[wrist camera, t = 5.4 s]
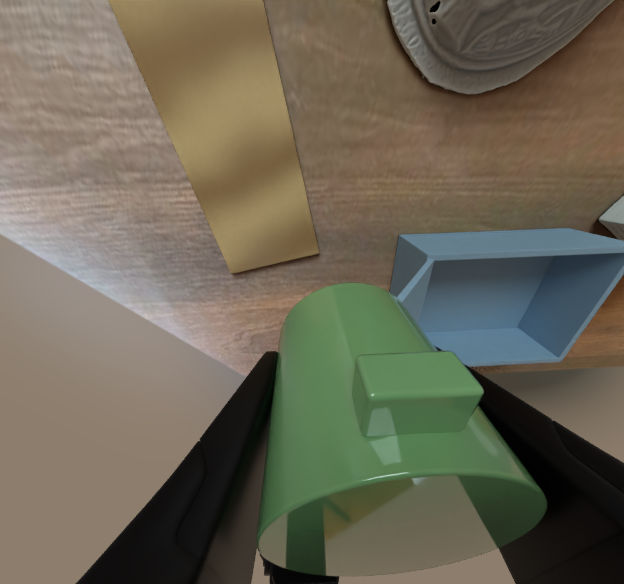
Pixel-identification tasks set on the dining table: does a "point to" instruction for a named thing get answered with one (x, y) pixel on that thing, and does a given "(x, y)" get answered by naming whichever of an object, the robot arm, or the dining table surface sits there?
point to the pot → (381, 447)
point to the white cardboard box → (615, 219)
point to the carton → (509, 290)
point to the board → (226, 121)
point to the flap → (417, 290)
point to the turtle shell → (486, 37)
